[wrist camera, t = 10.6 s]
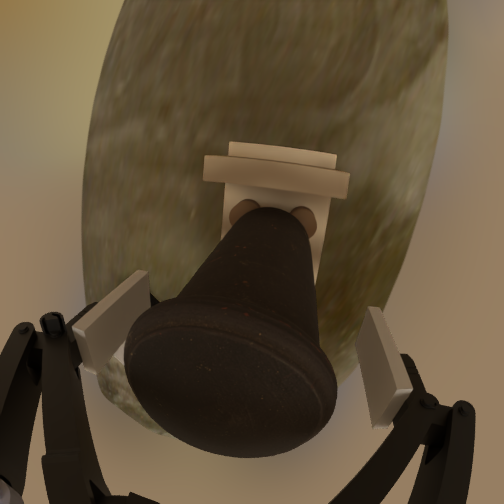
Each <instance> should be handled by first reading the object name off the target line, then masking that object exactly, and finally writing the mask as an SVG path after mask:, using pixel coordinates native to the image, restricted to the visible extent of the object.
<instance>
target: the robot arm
mask: <svg viewBox="0 0 504 504" xmlns="http://www.w3.org/2000/svg"><path fill="white" fill-rule="evenodd" d="M150 307H151V303H150V289H149V272H147V271H142V270H137V271H136V272H134V273H133V274H132V275H131V276H130V277H128V278H127V279H126V280H125V281H124V282H122V283H121V284H120V285H119V286H118V287H116V288H115V289H114V290H113V291H112V292H110V293H109V294H108V295H107V296H106V297H105V298H103V299H102V300H101V301H100V302H99V303H98V302H94V303H92V304H90V305H88V306H87V307H85V308H84V309H83V310H82V311H81V312H80V313H79V314H78V315H76V316H75V317H74V318H73V319H71V320H70V321H69V322H68V323H67V324H66V325H65V322H64V318H63V315H61V313H58V312H50V313H47V314H45V315H43V316H42V317H41V318H40V324H41V328H42V331H43V332H37V331H35V328H34V326H33V324H32V323H30V322H23V323H20V324H18V325H17V326H16V327H15V328H14V329H13V331H12V333H11V335H10V337H9V339H8V341H7V343H6V345H5V346H4V349H3V351H2V352H1V355H0V504H24V502H23V500H22V494H23V490H24V486H25V479H26V470H27V462H28V455H29V448H30V442H31V436H32V431H33V426H34V421H35V416H36V412H37V407H38V403H39V399H40V395H41V392H42V412H43V428H44V437H45V446H46V455H43V456H42V469H43V474H44V480H45V485H46V491H47V495H48V500H49V504H160V503H158V502H156V501H153V500H150V499H148V498H145V497H142V496H140V495H137V494H135V493H132V492H130V493H129V496H120V495H117V496H116V495H114V496H113V495H111V493H110V491H109V489H108V487H107V485H106V484H105V481H104V479H103V476H102V472H101V469H100V466H99V463H98V459H97V455H96V452H95V448H94V444H93V440H92V436H91V431H90V427H89V422H88V417H87V413H86V407H85V401H84V395H83V389H82V383H81V375H80V369H79V367H78V366H79V365H80V364H81V363H82V362H83V365H84V368H85V370H86V371H88V372H91V373H93V374H95V375H97V374H98V373H99V372H100V371H101V369H102V368H103V367H104V366H105V365H106V363H107V362H108V361H109V360H110V358H111V357H112V356H113V355H114V354H115V352H116V351H117V350H118V349H119V347H120V346H121V345H122V344H123V343H124V341H125V340H126V338H127V335H128V333H129V330H130V328H131V327H132V325H133V323H134V322H135V321H136V319H137V318H138V317H139V316H140V315H141V314H142V313H143V312H144V311H146V310H147V309H149V308H150ZM355 346H356V350H357V354H358V359H359V363H360V368H361V372H362V377H363V382H364V386H365V391H366V396H367V402H368V407H369V412H370V418H371V424H372V428H373V429H386V428H388V426H389V425H390V424H391V422H392V421H393V425H394V428H393V430H392V431H391V432H390V434H389V435H388V436H387V438H386V439H385V441H384V442H383V443H382V444H381V446H380V447H379V448H378V450H377V451H376V452H375V453H374V455H373V456H372V457H371V458H370V460H369V461H368V462H367V463H366V464H365V465H364V466H363V468H362V469H361V470H360V471H359V472H358V473H357V475H356V476H355V477H354V478H353V479H352V480H351V481H350V482H349V483H348V484H347V485H346V486H345V487H344V489H342V490H341V491H340V493H339V494H338V495H337V496H335V497H334V499H332V501H330V502H329V503H328V504H380V503H381V502H382V500H383V499H384V498H385V496H386V495H387V494H388V492H389V491H390V490H391V488H392V487H393V486H394V484H395V483H396V481H397V480H398V479H399V477H400V475H401V474H402V473H403V471H404V470H405V468H406V467H407V465H408V463H409V462H410V460H411V459H412V457H413V455H414V454H415V452H416V450H417V449H418V447H419V445H420V444H423V445H425V448H424V452H423V456H422V460H421V464H420V467H419V471H418V474H417V477H416V480H415V484H414V487H413V490H412V493H411V496H410V498H409V501H408V504H466V500H467V495H468V490H469V484H470V477H471V471H472V470H471V469H472V462H473V453H474V440H475V409H474V407H473V406H472V405H471V404H470V403H468V402H466V401H463V400H460V401H457V402H456V403H455V404H454V405H453V407H449V406H444V405H440V404H439V401H438V400H437V398H436V397H434V396H433V395H432V394H429V393H427V392H426V390H425V387H424V385H423V382H422V380H421V377H420V375H419V374H418V370H417V369H416V366H415V363H414V361H413V360H412V359H411V357H410V356H409V355H408V354H400V353H399V351H398V348H397V346H396V344H395V341H394V339H393V337H392V334H391V332H390V330H389V327H388V325H387V323H386V321H385V318H384V316H383V314H382V311H381V309H380V308H379V307H370V306H368V307H367V311H366V314H365V317H364V320H363V323H362V326H361V329H360V331H359V334H358V337H357V340H356V343H355Z"/></svg>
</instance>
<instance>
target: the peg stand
mask: <svg viewBox="0 0 504 504" xmlns="http://www.w3.org/2000/svg"><path fill="white" fill-rule="evenodd" d="M336 158H337V155H335V154H329V153H323V152H317V151H310V150H303V149H296V148H289V147H281V146H272V145H263V144H253V143H242V142H229V152H228V156H222V155H205V160H204V172H203V181H211V182H222V183H225V195H224V207H223V219H222V232H221V240H222V239H223V237H224V236H225V235H226V234H227V232H228V231H229V230H230V229H231V227H232V226H233V225H234V224H235V222H236V221H237V220H238V219H239V218H240V217H241V216H243V215H244V214H245V213H247V212H249V211H251V210H254V209H257V208H261V207H274V208H279V209H282V210H284V211H287V212H289V213H290V214H292V215H293V216H295V217H296V218H297V219H298V220H299V221H300V222H301V223H302V225H303V226H304V228H305V230H306V232H307V234H308V237H309V241H310V245H311V252H312V261H313V271H314V282H315V283H316V278H317V273H318V268H319V263H320V258H321V253H322V248H323V242H324V237H325V231H326V225H327V219H328V213H329V207H330V201H331V197H335V198H341V199H346V197H347V191H348V184H349V177H350V173H347V172H343V171H340V170H336V169H335V166H336Z"/></svg>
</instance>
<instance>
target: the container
mask: <svg viewBox="0 0 504 504" xmlns="http://www.w3.org/2000/svg"><path fill="white" fill-rule="evenodd" d="M124 367H125V372H126V375H127V378H128V382H129V384H130V386H131V388H132V390H133V392H134V394H135V396H136V397H137V399H138V401H139V402H140V404H141V405H142V407H143V408H144V409H145V411H146V412H147V413H148V414H149V416H150V417H151V418H152V419H153V420H154V421H155V422H156V423H157V424H158V425H159V426H161V427H162V428H163V429H164V430H166V431H167V432H168V433H170V434H171V435H173V436H174V437H176V438H178V439H179V440H181V441H183V442H185V443H187V444H189V445H191V446H193V447H196V448H198V449H201V450H204V451H207V452H210V453H214V454H219V455H224V456H230V457H238V458H259V457H268V456H274V455H277V454H281V453H285V452H288V451H290V450H292V449H295V448H296V447H298V446H300V445H302V444H304V443H305V442H307V441H309V440H310V439H311V438H313V437H314V436H316V435H317V434H318V433H319V432H320V431H321V430H322V428H324V427H325V425H326V424H327V423H328V421H329V420H330V418H331V416H332V414H333V412H334V409H335V405H336V399H337V381H336V377H335V374H334V370H333V368H332V365H331V363H330V361H329V360H328V358H327V356H326V355H325V353H324V352H323V350H322V349H321V348H320V345H319V331H318V320H317V305H316V291H315V282H314V271H313V261H312V252H311V245H310V241H309V237H308V234H307V232H306V230H305V228H304V226H303V225H302V223H301V222H300V221H299V220H298V219H297V218H296V217H295V216H293V215H292V214H290V213H289V212H287V211H284V210H282V209H279V208H274V207H261V208H257V209H254V210H251V211H249V212H247V213H245V214H244V215H243V216H241V217H240V218H239V219H238V220H237V221H236V222H235V224H234V225H233V226H232V227H231V229H230V230H229V231H228V232H227V234H226V235H225V236H224V237H223V239H222V240H221V241H220V243H219V244H218V245H217V247H216V248H215V249H214V251H213V252H212V253H211V254H210V255H209V257H208V258H207V259H206V260H205V262H204V263H203V264H202V265H201V267H200V268H199V269H198V271H197V272H196V273H195V275H194V276H193V277H192V278H191V280H190V281H189V282H188V284H187V285H186V286H185V287H184V288H183V290H182V291H181V292H180V294H179V295H178V296H177V297H176V298H172V299H168V300H165V301H163V302H160V303H158V304H156V305H154V306H152V307H150V308H149V309H147V310H146V311H144V312H143V313H142V314H141V315H140V316H139V317H138V318H137V319H136V321H135V322H134V323H133V325H132V327H131V328H130V330H129V333H128V335H127V338H126V341H125V345H124Z"/></svg>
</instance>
